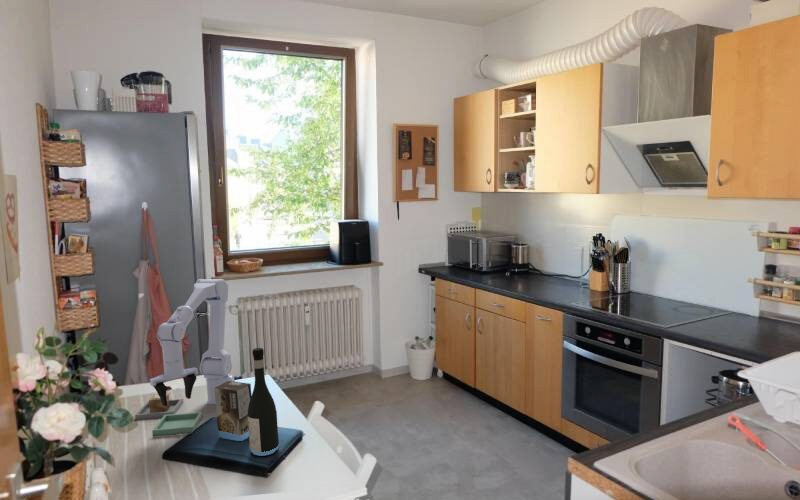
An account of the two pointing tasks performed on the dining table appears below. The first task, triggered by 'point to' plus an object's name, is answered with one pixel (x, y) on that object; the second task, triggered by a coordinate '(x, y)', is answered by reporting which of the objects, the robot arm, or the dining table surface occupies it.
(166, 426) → the green tray
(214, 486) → the dining table surface
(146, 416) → the charcoal tray
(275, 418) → the wine bottle
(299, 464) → the dining table surface
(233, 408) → the coffee box
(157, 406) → the brown cardboard box
